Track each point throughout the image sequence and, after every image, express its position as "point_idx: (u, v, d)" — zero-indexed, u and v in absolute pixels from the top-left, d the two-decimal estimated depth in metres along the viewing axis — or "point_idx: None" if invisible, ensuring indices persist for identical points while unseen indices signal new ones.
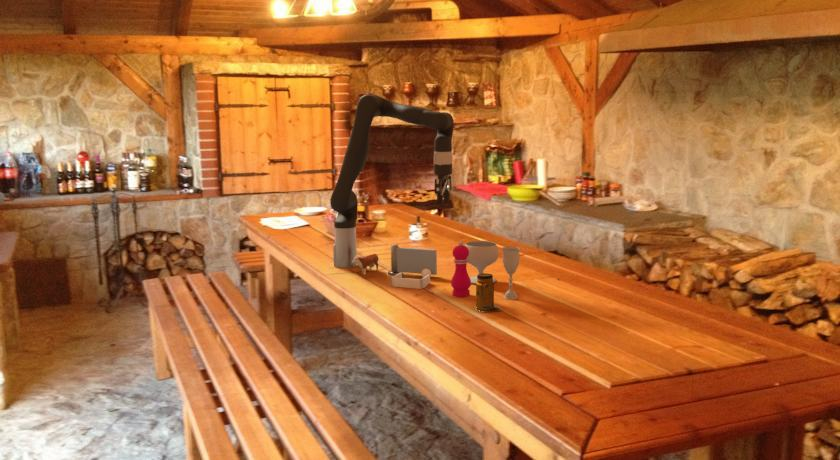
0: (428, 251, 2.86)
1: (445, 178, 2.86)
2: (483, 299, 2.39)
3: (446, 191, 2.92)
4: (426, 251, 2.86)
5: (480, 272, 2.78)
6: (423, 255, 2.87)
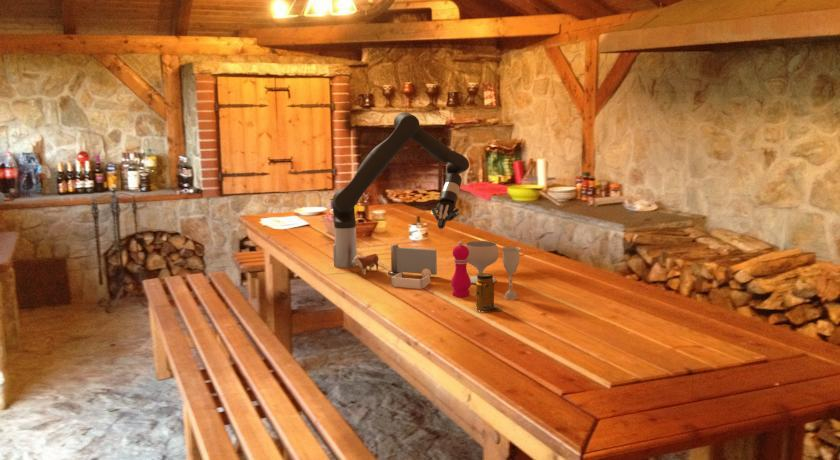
0: (428, 251, 2.86)
1: None
2: (483, 299, 2.39)
3: None
4: (426, 251, 2.86)
5: (480, 272, 2.78)
6: (423, 255, 2.87)
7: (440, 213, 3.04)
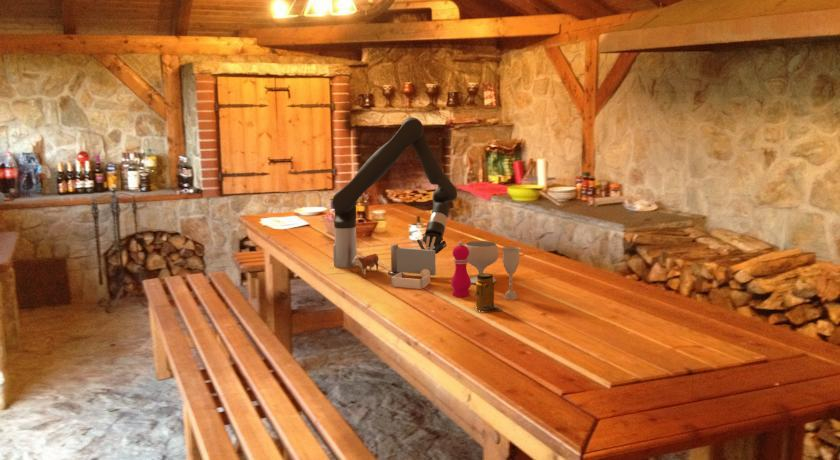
0: (427, 251, 2.85)
1: None
2: (483, 299, 2.39)
3: None
4: (425, 252, 2.85)
5: (480, 272, 2.78)
6: (422, 256, 2.86)
7: (427, 245, 2.91)
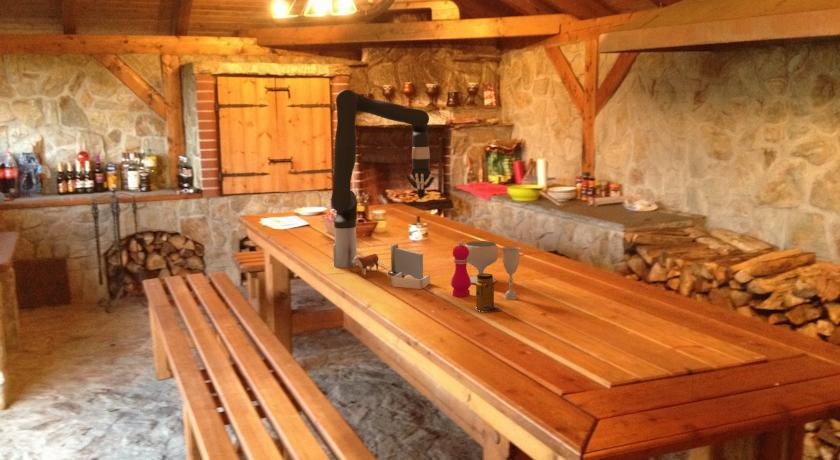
0: (415, 254, 2.80)
1: None
2: (483, 299, 2.39)
3: (420, 188, 3.06)
4: (413, 254, 2.80)
5: (480, 272, 2.78)
6: (412, 258, 2.82)
7: (417, 183, 3.05)
